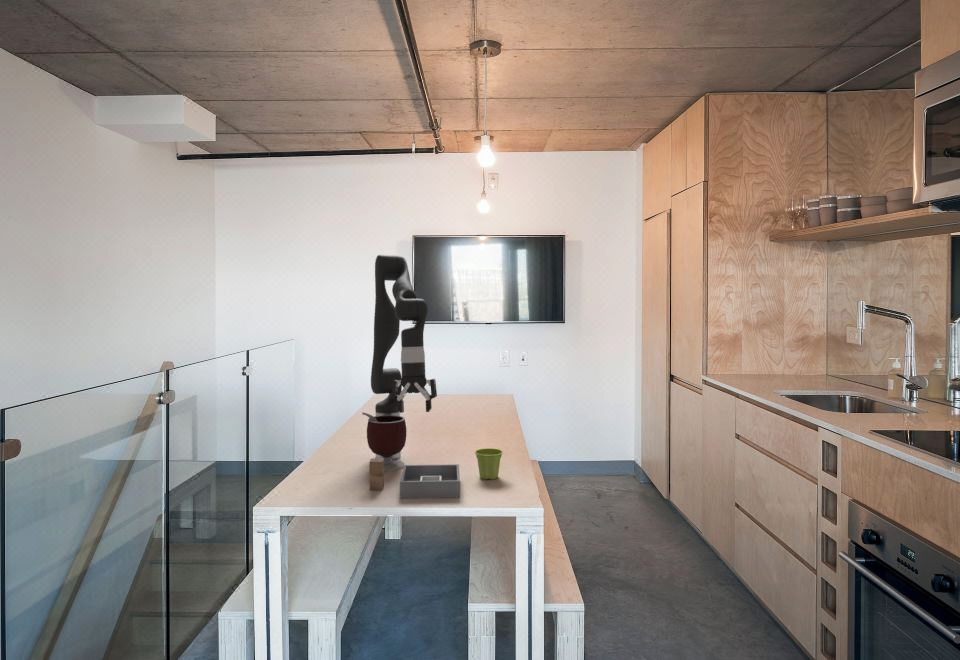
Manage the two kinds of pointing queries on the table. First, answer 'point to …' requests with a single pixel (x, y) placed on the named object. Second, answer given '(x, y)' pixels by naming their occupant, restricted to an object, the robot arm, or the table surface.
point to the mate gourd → (387, 438)
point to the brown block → (376, 474)
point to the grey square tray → (430, 481)
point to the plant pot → (488, 462)
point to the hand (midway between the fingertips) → (414, 412)
